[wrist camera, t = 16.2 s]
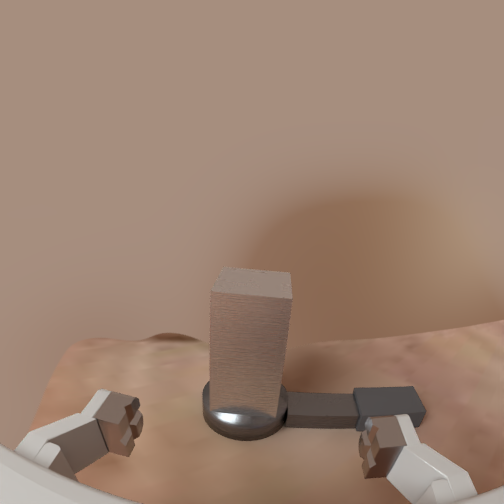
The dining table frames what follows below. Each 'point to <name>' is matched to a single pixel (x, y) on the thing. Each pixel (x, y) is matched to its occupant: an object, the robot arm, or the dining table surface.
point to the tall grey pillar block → (248, 340)
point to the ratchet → (318, 411)
